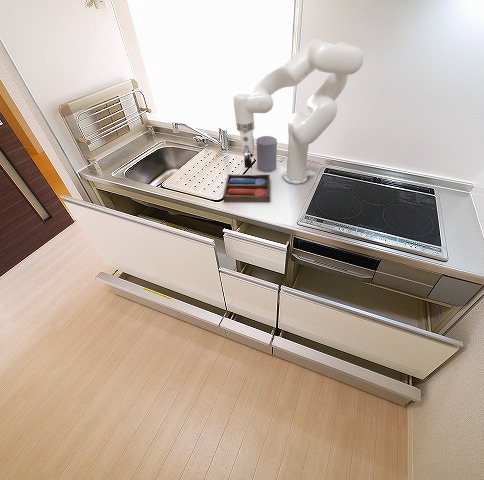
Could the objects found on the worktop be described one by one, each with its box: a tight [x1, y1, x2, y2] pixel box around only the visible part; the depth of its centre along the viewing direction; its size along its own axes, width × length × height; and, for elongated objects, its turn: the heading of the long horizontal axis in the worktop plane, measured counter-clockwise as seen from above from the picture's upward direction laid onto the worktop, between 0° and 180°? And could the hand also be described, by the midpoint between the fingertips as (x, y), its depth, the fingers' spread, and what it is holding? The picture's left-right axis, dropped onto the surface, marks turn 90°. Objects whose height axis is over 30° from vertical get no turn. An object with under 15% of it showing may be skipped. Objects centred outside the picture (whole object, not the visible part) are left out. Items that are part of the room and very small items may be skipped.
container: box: [255, 135, 278, 173], centre depth 136 cm, size 10×10×15 cm
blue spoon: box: [229, 178, 266, 185], centre depth 127 cm, size 18×6×3 cm, turn 91°
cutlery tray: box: [222, 173, 271, 203], centre depth 125 cm, size 21×18×3 cm
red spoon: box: [227, 189, 265, 196], centre depth 121 cm, size 18×6×3 cm, turn 91°
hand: (249, 162), depth 122 cm, fingers open, 9 cm apart
